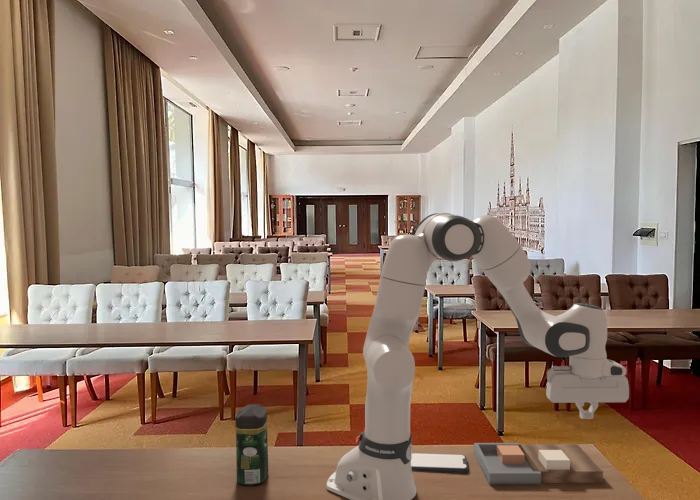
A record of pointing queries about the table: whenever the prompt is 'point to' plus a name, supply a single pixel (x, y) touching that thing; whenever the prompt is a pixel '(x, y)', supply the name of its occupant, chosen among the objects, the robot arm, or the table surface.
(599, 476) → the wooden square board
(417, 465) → the phone case
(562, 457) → the cream tile
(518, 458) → the terracotta tile
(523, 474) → the box
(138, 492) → the table surface
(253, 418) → the coffee jar
